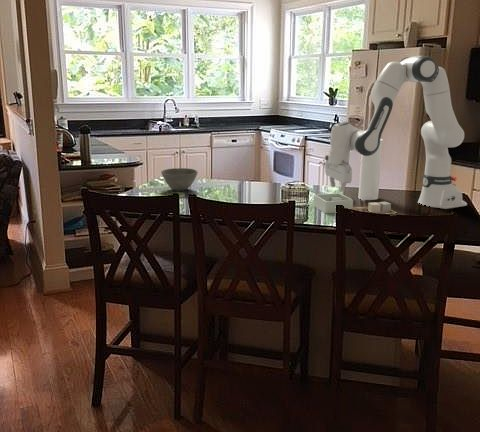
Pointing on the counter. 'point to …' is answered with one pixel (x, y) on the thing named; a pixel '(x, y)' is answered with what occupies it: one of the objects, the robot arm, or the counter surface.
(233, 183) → the counter surface
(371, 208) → the stone
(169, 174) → the bowl
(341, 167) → the robot arm
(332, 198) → the stone
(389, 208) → the stone
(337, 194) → the tub
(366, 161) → the cylinder container
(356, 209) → the gravel tray
